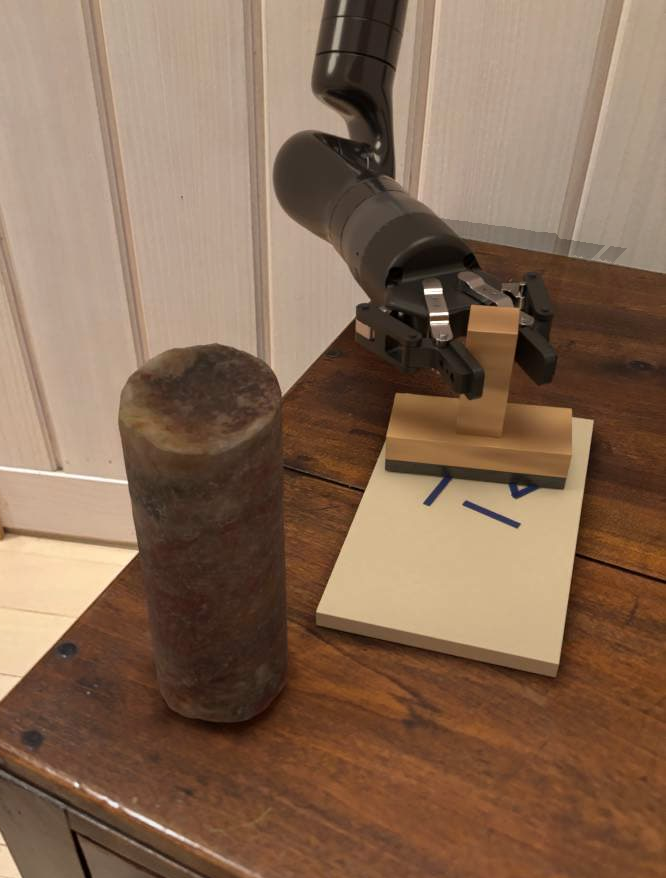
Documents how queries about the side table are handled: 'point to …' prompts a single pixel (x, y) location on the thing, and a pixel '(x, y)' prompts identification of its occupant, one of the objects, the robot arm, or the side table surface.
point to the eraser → (482, 421)
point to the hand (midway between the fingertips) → (513, 378)
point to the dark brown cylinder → (210, 526)
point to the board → (462, 564)
